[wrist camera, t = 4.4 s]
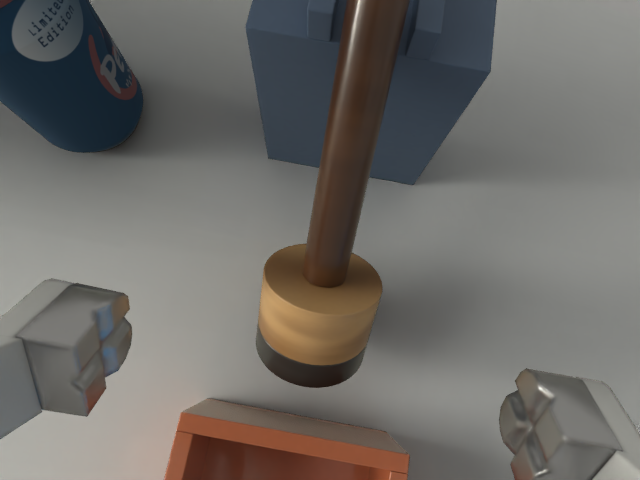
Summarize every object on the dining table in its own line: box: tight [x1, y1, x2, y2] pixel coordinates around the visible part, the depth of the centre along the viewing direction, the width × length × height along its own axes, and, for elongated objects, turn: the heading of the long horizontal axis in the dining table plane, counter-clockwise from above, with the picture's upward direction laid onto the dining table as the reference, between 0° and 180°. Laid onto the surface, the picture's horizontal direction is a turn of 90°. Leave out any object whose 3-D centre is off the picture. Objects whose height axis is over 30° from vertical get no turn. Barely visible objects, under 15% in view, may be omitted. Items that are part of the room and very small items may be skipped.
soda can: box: [0, 0, 143, 153], centre depth 23 cm, size 7×7×12 cm
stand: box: [246, 0, 497, 185], centre depth 22 cm, size 4×10×14 cm, turn 80°
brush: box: [256, 0, 410, 388], centre depth 19 cm, size 15×6×15 cm, turn 170°
